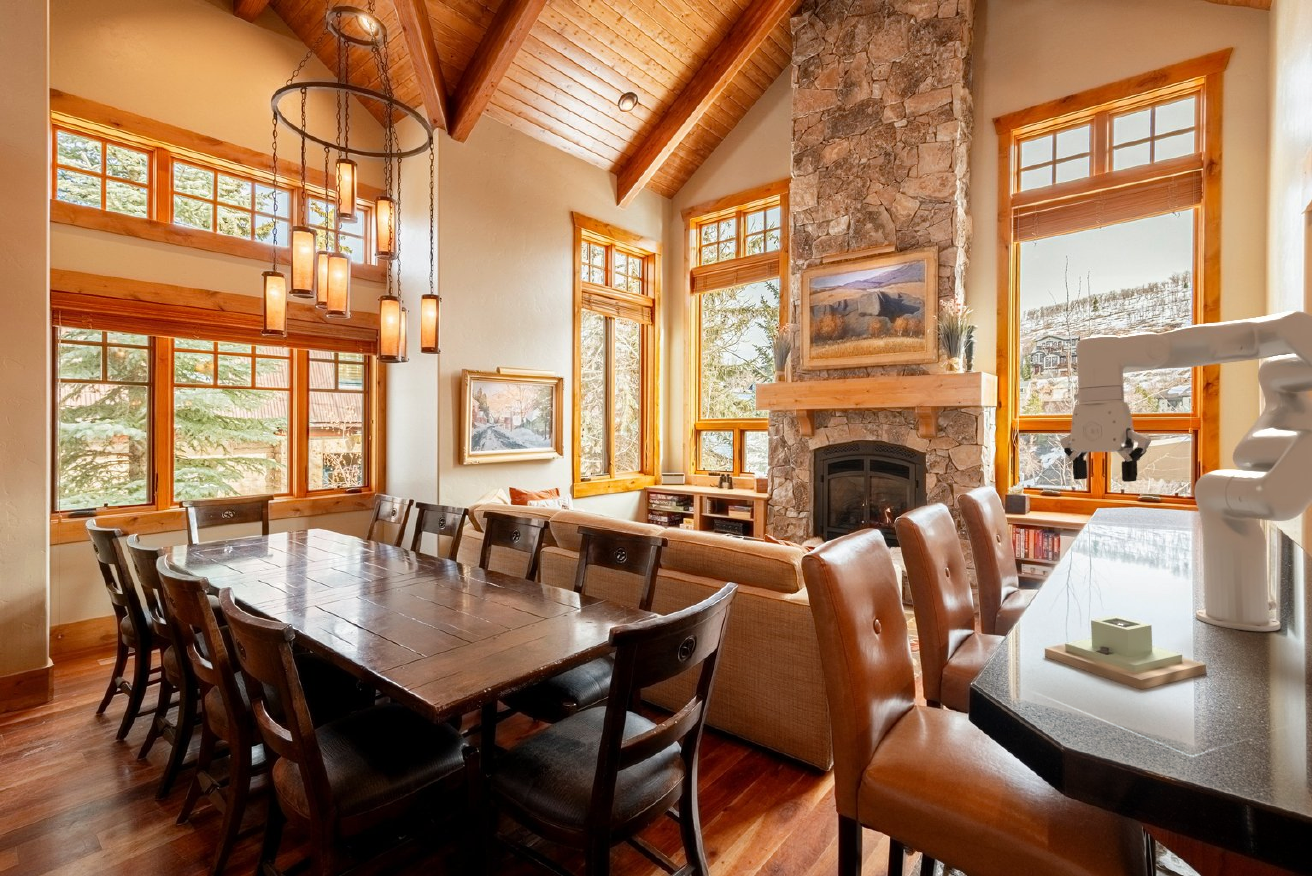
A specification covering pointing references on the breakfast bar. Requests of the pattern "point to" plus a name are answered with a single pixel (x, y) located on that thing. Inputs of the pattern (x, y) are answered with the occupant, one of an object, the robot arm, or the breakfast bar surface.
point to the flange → (1123, 645)
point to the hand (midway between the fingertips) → (1104, 480)
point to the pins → (1105, 649)
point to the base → (1125, 676)
